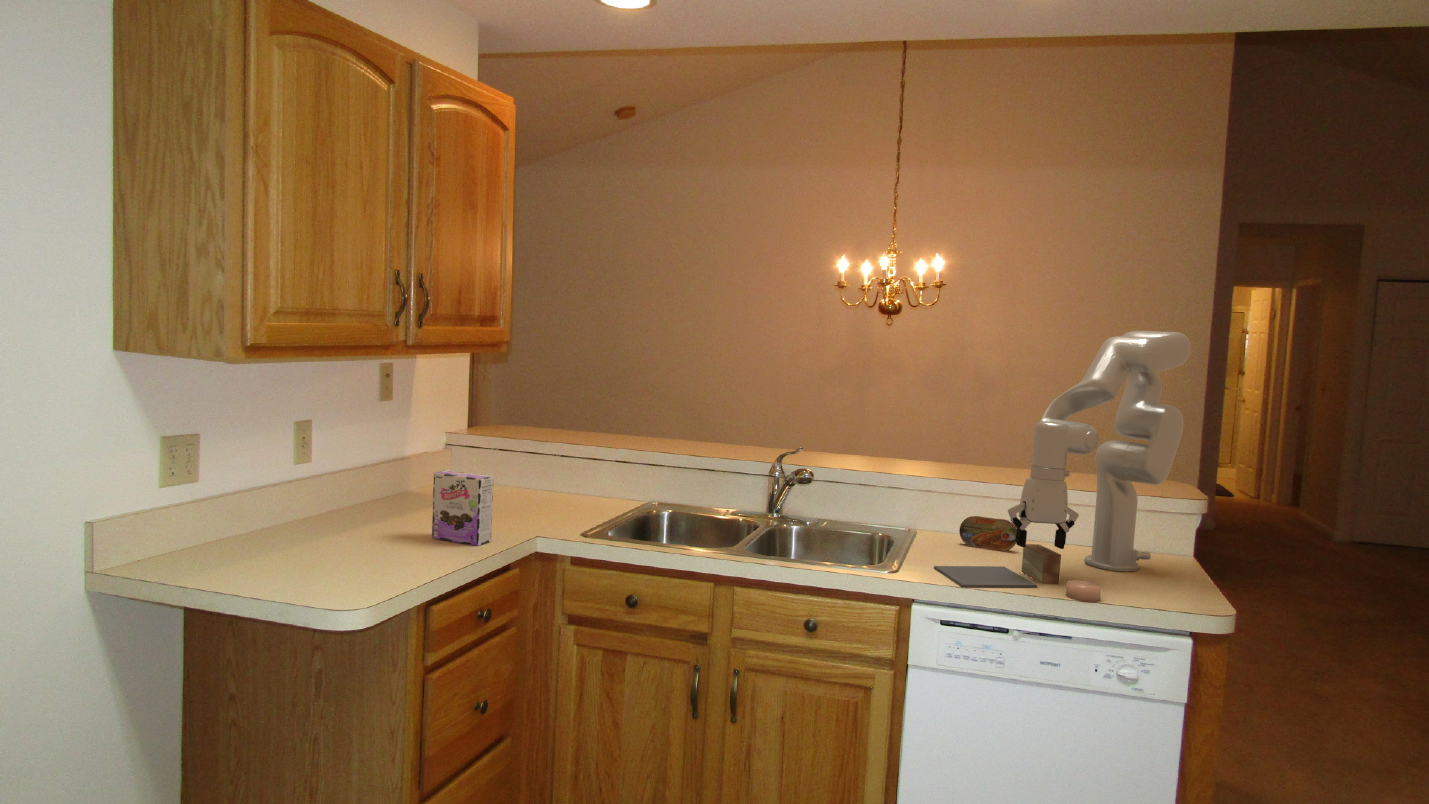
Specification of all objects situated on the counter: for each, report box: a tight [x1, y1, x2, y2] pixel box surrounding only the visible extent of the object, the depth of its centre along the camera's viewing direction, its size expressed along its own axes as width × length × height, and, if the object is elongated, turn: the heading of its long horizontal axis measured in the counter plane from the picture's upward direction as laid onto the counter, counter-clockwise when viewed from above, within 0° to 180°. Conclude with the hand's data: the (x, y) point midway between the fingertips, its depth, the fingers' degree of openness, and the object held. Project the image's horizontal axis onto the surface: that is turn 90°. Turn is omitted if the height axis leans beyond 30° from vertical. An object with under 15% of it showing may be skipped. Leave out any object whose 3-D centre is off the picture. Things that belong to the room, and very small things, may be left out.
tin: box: [958, 515, 1017, 552], centre depth 246 cm, size 15×3×8 cm, turn 62°
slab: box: [1021, 543, 1062, 585], centre depth 217 cm, size 4×10×7 cm, turn 10°
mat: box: [933, 565, 1038, 589], centre depth 215 cm, size 18×16×1 cm
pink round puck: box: [1065, 579, 1102, 603], centre depth 203 cm, size 7×7×3 cm
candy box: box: [431, 469, 495, 547], centre depth 225 cm, size 14×6×16 cm, turn 68°
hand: (1039, 546), depth 217 cm, fingers open, 9 cm apart
